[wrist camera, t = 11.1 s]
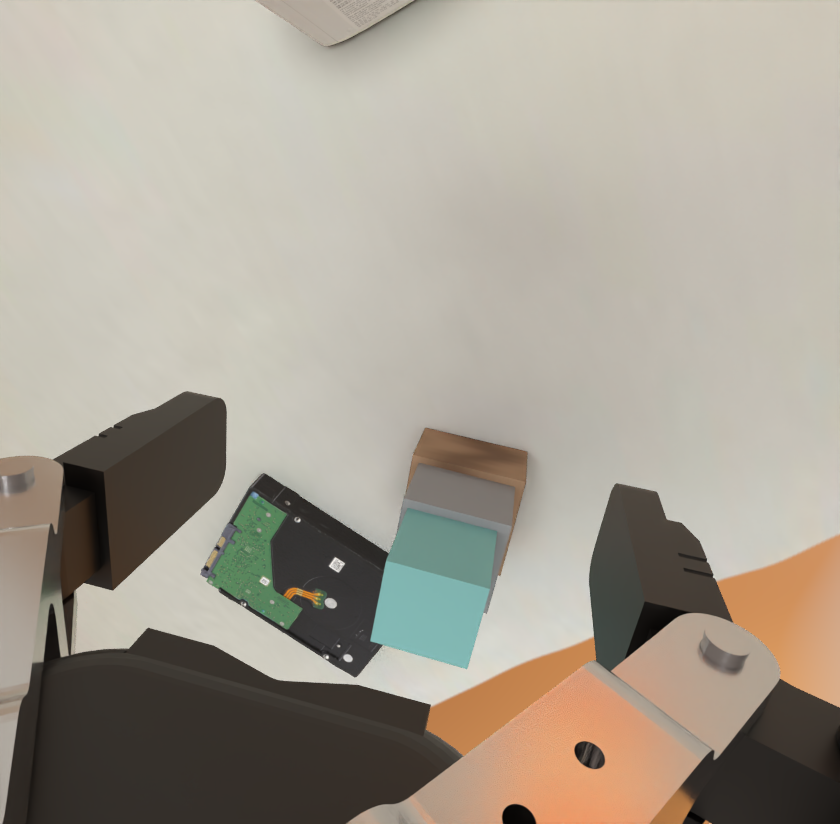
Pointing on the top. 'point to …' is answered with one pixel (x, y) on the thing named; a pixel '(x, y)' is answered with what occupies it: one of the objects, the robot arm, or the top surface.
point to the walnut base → (473, 462)
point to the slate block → (464, 504)
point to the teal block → (435, 587)
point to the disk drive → (301, 573)
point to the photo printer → (333, 16)
